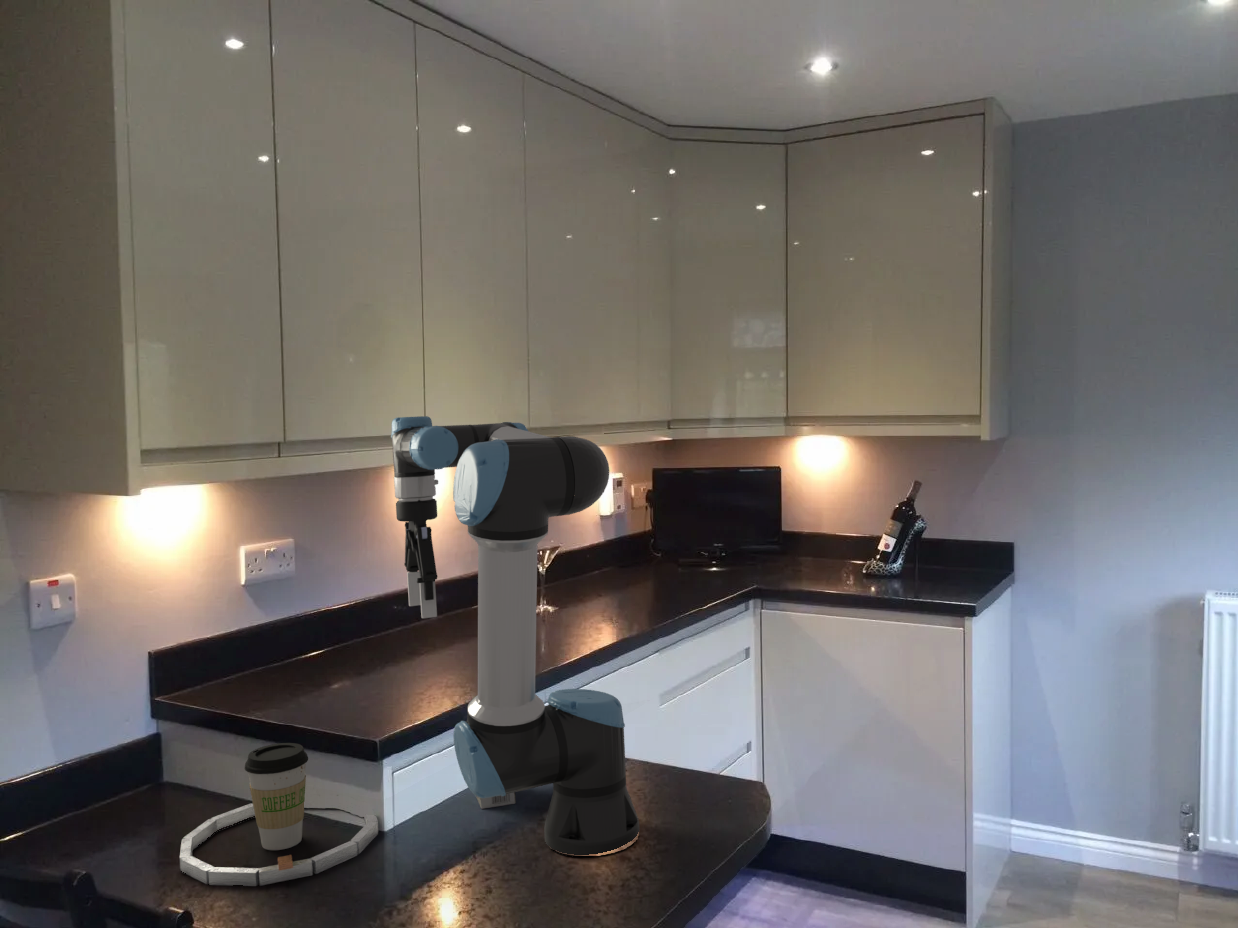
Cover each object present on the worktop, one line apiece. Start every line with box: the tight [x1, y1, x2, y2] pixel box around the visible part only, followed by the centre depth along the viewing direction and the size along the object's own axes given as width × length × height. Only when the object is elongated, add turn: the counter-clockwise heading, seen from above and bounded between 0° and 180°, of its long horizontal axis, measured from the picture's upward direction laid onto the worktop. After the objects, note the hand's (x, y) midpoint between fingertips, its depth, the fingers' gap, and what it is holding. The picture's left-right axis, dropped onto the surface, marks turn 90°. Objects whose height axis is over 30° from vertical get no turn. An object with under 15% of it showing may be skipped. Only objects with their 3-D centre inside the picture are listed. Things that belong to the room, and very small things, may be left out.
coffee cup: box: [244, 742, 309, 851], centre depth 163 cm, size 10×10×15 cm
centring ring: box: [179, 802, 379, 887], centre depth 163 cm, size 31×30×3 cm
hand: (422, 611), depth 188 cm, fingers open, 13 cm apart
